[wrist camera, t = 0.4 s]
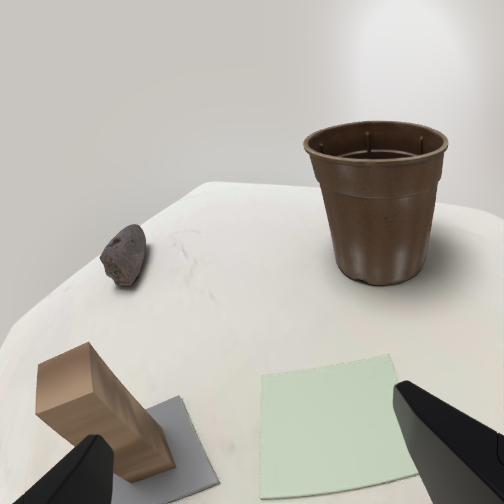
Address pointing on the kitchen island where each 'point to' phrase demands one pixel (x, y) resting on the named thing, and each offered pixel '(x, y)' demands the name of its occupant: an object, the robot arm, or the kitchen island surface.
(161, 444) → the walnut post
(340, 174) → the plant pot
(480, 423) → the robot arm
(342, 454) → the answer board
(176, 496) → the plate
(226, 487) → the kitchen island surface
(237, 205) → the kitchen island surface
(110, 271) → the perforated stone tool
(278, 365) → the kitchen island surface
